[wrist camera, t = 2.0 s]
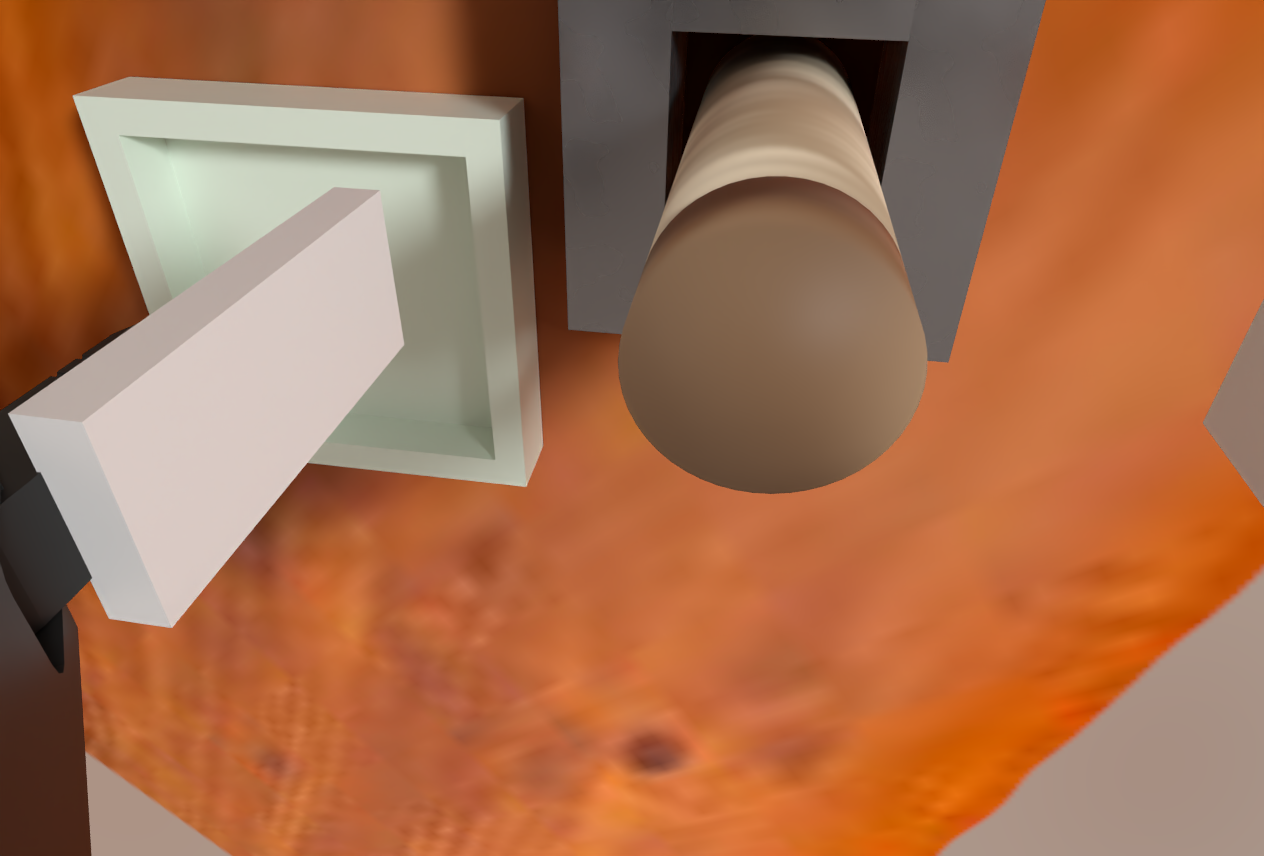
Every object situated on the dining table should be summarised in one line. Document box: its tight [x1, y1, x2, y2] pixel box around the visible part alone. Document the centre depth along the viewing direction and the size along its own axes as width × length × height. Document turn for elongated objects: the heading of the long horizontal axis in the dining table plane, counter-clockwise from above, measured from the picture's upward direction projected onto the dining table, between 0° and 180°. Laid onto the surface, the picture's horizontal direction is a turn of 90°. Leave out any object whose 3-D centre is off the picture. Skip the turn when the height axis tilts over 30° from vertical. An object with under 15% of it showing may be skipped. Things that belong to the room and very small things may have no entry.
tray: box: [73, 77, 543, 487], centre depth 26 cm, size 12×12×2 cm
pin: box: [618, 35, 927, 494], centre depth 17 cm, size 4×4×14 cm
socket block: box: [558, 0, 1046, 362], centre depth 21 cm, size 10×10×4 cm
